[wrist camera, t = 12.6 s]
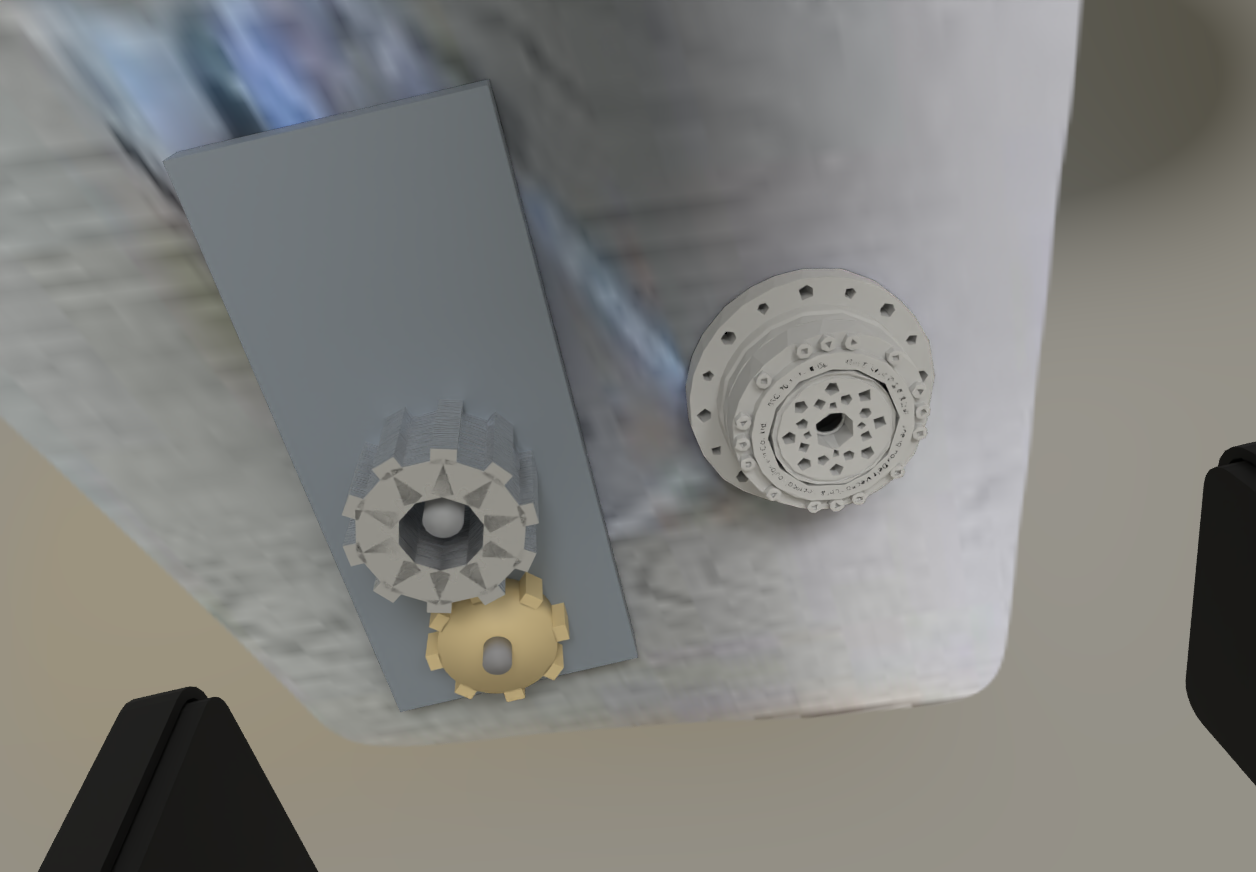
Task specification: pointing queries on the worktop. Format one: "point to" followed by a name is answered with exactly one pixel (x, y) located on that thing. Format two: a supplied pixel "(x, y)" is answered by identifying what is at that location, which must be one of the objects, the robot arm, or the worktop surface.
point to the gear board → (412, 361)
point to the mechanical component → (811, 389)
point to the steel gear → (450, 468)
